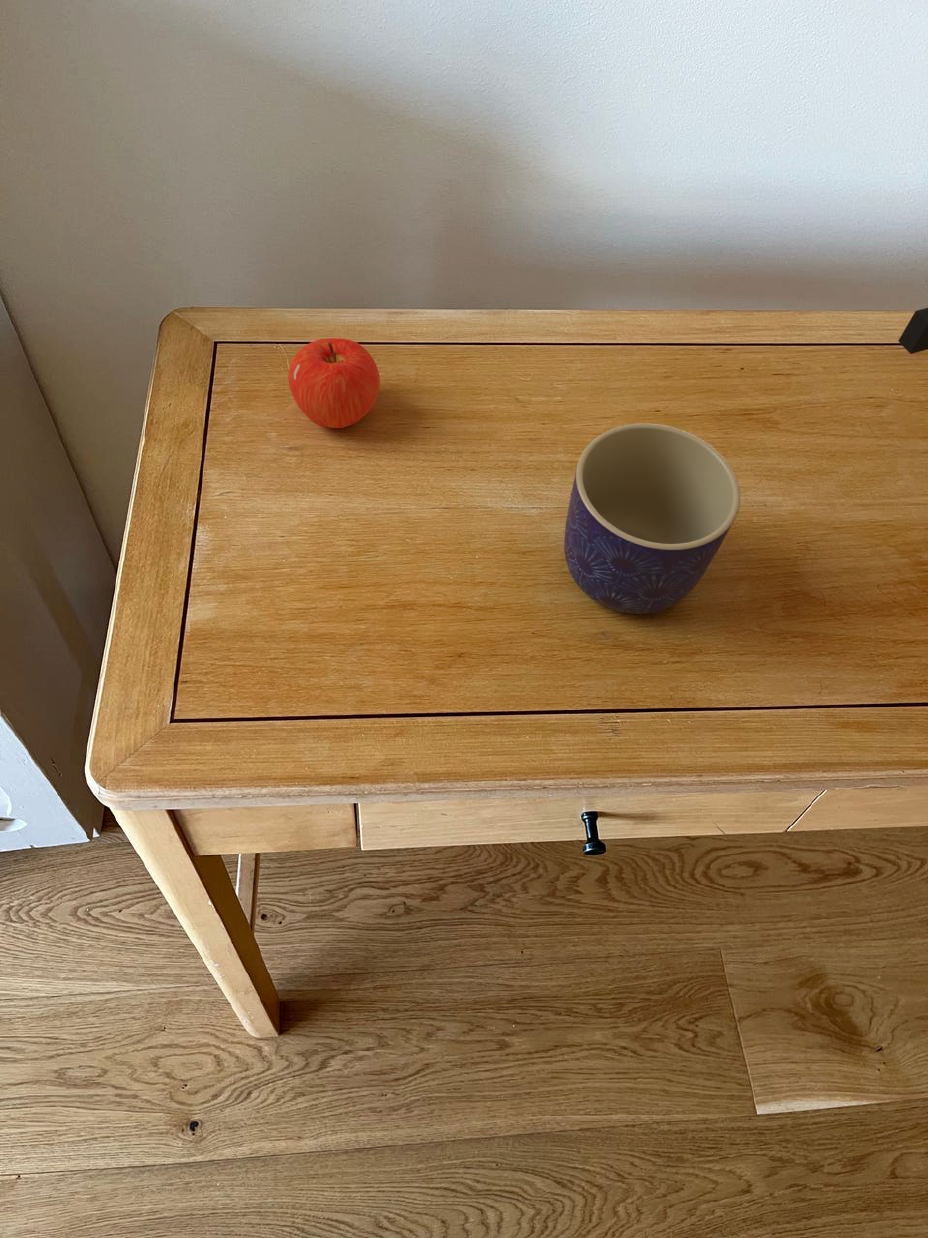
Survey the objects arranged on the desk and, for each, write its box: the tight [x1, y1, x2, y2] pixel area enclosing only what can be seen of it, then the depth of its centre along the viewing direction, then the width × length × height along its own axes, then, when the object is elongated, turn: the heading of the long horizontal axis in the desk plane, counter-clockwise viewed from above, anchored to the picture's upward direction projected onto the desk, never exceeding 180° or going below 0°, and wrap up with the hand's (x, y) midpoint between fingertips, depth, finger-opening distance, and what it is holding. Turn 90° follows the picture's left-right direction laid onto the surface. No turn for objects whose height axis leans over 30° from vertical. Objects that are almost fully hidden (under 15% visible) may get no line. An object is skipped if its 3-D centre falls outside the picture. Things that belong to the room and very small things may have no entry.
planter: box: [563, 422, 741, 615], centre depth 74 cm, size 12×12×11 cm
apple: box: [287, 337, 381, 429], centre depth 82 cm, size 8×8×8 cm
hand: (913, 332), depth 67 cm, fingers closed
